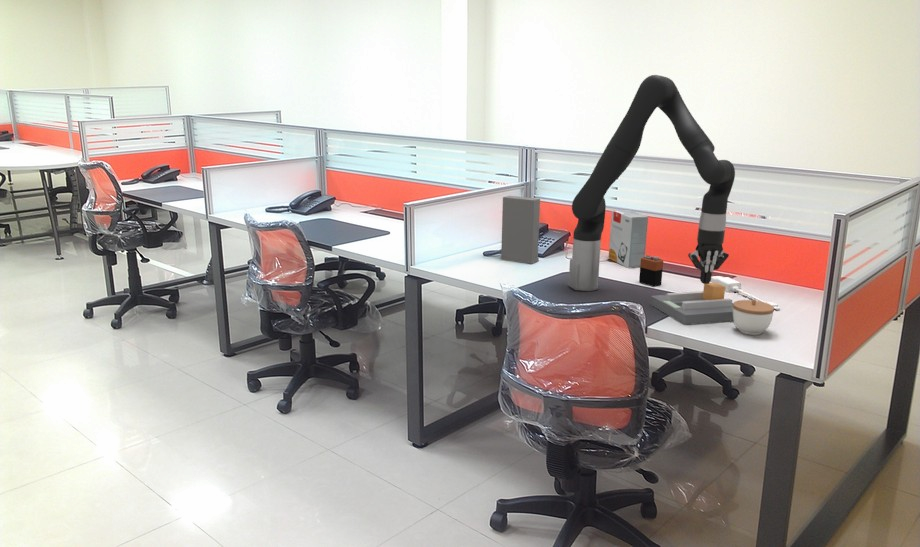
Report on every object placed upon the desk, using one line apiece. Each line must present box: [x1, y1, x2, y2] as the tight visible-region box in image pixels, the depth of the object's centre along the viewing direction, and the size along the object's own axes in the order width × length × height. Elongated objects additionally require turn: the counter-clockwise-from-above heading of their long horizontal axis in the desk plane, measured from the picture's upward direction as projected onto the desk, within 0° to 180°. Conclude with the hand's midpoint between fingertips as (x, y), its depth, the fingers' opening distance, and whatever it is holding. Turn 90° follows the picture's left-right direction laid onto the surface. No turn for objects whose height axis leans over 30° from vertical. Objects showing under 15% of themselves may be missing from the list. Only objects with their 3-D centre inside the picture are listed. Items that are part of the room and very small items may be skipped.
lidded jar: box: [732, 298, 775, 336], centre depth 201 cm, size 11×11×9 cm
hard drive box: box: [608, 209, 649, 269], centre depth 277 cm, size 16×8×20 cm, turn 17°
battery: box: [638, 254, 664, 287], centre depth 249 cm, size 4×7×10 cm, turn 37°
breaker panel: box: [650, 290, 734, 326], centre depth 218 cm, size 21×20×5 cm
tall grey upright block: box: [500, 195, 541, 265], centre depth 278 cm, size 14×6×25 cm, turn 58°
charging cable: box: [709, 275, 781, 311], centre depth 236 cm, size 5×32×3 cm, turn 16°
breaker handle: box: [702, 282, 726, 300], centre depth 218 cm, size 4×5×5 cm
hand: (705, 283), depth 217 cm, fingers closed
